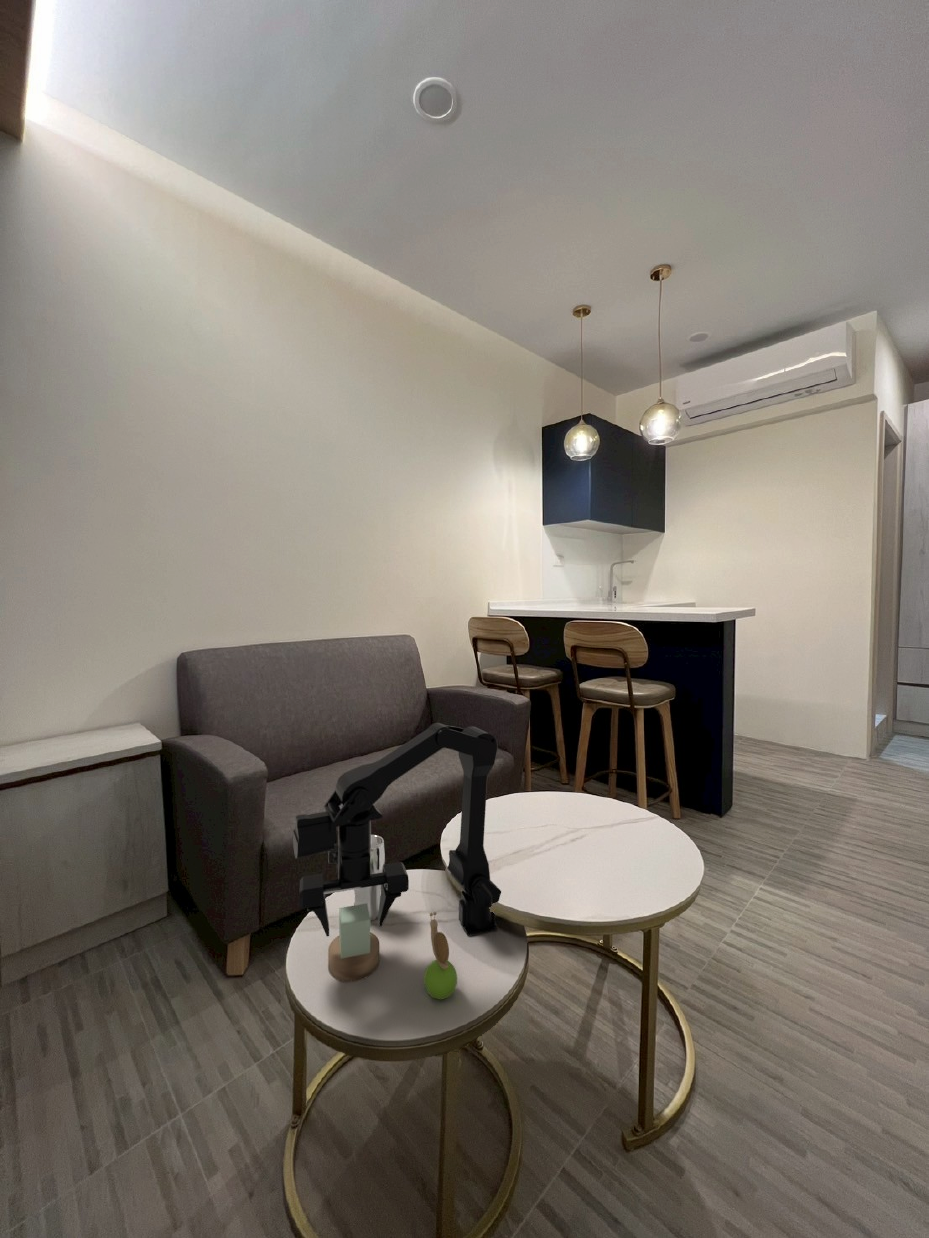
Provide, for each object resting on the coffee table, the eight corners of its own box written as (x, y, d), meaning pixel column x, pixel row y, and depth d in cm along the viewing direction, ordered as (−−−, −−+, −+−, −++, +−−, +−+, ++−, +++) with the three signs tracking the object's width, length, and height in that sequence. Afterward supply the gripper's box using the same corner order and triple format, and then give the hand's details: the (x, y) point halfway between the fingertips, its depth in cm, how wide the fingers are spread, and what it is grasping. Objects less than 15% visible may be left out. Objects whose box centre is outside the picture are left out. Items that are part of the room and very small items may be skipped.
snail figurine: (445, 974, 88) (446, 907, 87) (462, 1000, 82) (463, 928, 81) (417, 984, 85) (417, 915, 85) (432, 1012, 79) (432, 938, 79)
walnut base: (375, 941, 96) (376, 926, 96) (382, 975, 87) (382, 958, 87) (327, 950, 93) (327, 934, 93) (329, 986, 84) (329, 969, 84)
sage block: (366, 934, 93) (367, 903, 93) (370, 952, 88) (370, 919, 88) (339, 939, 92) (339, 907, 91) (341, 958, 87) (341, 924, 87)
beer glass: (351, 925, 100) (351, 852, 100) (349, 905, 107) (349, 836, 106) (386, 919, 102) (386, 847, 102) (382, 899, 109) (382, 832, 108)
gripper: (398, 819, 100) (398, 895, 100) (300, 831, 94) (300, 912, 95) (409, 845, 89) (408, 931, 90) (299, 861, 83) (299, 952, 84)
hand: (354, 929), depth 90 cm, fingers open, 9 cm apart
